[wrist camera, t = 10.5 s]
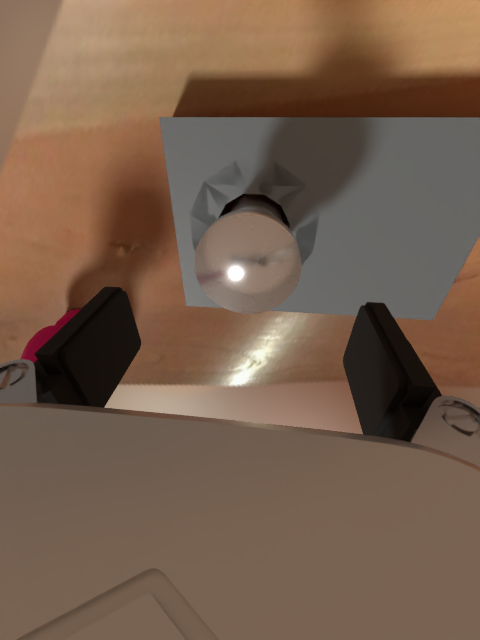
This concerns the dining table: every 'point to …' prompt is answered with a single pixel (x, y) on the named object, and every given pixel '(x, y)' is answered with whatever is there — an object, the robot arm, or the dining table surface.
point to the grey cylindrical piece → (248, 257)
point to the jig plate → (338, 201)
